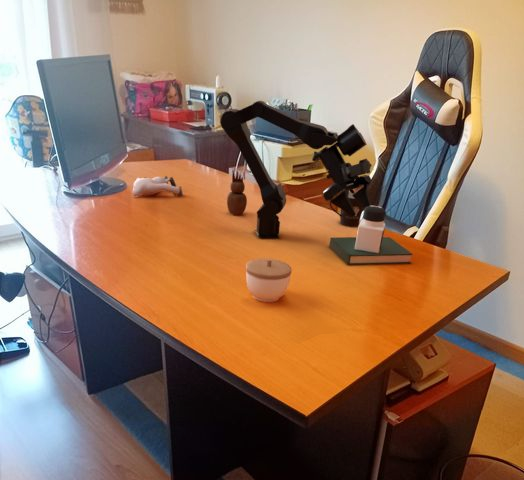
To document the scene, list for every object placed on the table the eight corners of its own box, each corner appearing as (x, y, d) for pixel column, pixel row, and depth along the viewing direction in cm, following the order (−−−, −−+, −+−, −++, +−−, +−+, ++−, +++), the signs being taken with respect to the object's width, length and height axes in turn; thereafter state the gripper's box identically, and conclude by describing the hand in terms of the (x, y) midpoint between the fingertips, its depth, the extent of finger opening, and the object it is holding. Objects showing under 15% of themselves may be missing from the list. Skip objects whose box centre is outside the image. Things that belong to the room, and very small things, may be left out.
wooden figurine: (224, 214, 181) (225, 169, 174) (230, 210, 186) (232, 167, 179) (241, 217, 180) (244, 173, 172) (248, 213, 184) (250, 170, 177)
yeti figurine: (157, 188, 211) (115, 194, 197) (156, 171, 208) (113, 176, 194) (189, 195, 200) (148, 202, 186) (189, 177, 197) (146, 182, 183)
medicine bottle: (378, 254, 149) (387, 212, 143) (354, 249, 150) (361, 208, 144) (381, 246, 155) (389, 206, 149) (357, 242, 156) (364, 202, 150)
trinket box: (267, 284, 132) (270, 248, 127) (297, 299, 125) (301, 262, 120) (235, 294, 125) (236, 257, 120) (265, 310, 119) (268, 272, 114)
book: (347, 265, 148) (349, 255, 146) (329, 246, 160) (330, 237, 158) (410, 263, 153) (412, 253, 151) (387, 245, 165) (389, 236, 164)
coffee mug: (363, 222, 185) (368, 194, 180) (359, 229, 178) (364, 200, 173) (331, 217, 188) (335, 189, 183) (326, 223, 181) (330, 194, 176)
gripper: (338, 152, 138) (367, 203, 138) (372, 146, 151) (398, 193, 151) (310, 176, 146) (338, 224, 146) (344, 168, 159) (369, 213, 159)
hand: (362, 213), depth 150 cm, fingers open, 9 cm apart
